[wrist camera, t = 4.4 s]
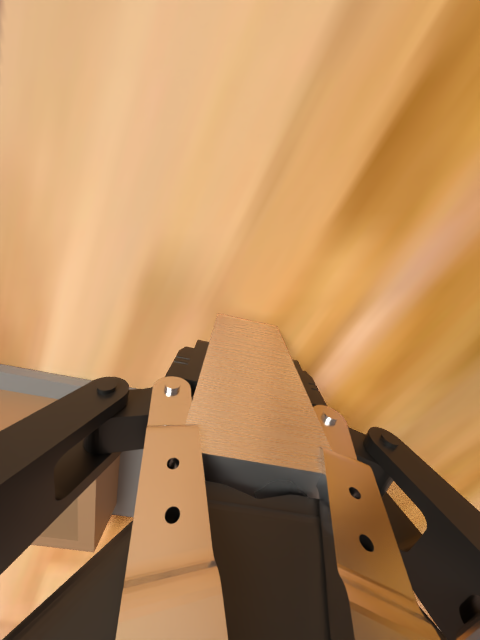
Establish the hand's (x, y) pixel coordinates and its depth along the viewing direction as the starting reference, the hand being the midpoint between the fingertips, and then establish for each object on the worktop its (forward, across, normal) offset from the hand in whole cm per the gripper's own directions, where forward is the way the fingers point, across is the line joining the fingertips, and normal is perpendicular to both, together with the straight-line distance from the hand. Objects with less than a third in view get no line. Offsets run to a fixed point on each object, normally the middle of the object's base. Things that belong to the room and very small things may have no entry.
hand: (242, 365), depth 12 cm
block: (+3, 0, +2) cm, 4 cm away
